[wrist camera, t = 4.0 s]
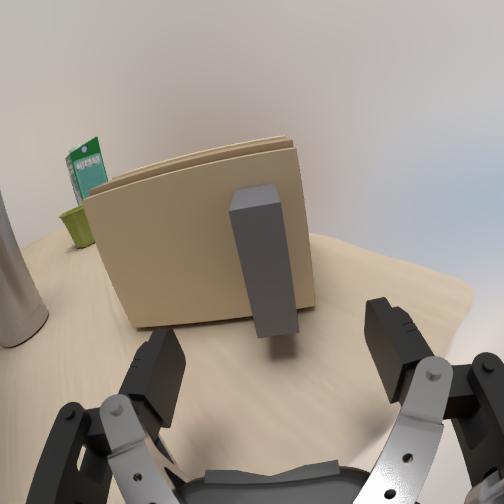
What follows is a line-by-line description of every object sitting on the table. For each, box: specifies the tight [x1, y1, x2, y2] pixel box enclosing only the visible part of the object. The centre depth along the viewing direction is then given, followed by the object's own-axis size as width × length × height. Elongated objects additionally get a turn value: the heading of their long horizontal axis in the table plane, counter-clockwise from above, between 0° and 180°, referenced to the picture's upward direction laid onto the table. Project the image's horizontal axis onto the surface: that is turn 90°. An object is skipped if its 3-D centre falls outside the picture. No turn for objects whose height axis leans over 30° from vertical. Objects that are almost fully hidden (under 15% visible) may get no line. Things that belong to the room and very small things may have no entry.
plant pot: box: [59, 205, 95, 248], centre depth 54 cm, size 9×9×9 cm
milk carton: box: [66, 137, 108, 206], centre depth 68 cm, size 9×9×25 cm
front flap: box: [82, 147, 315, 338], centre depth 18 cm, size 16×6×12 cm, turn 89°
